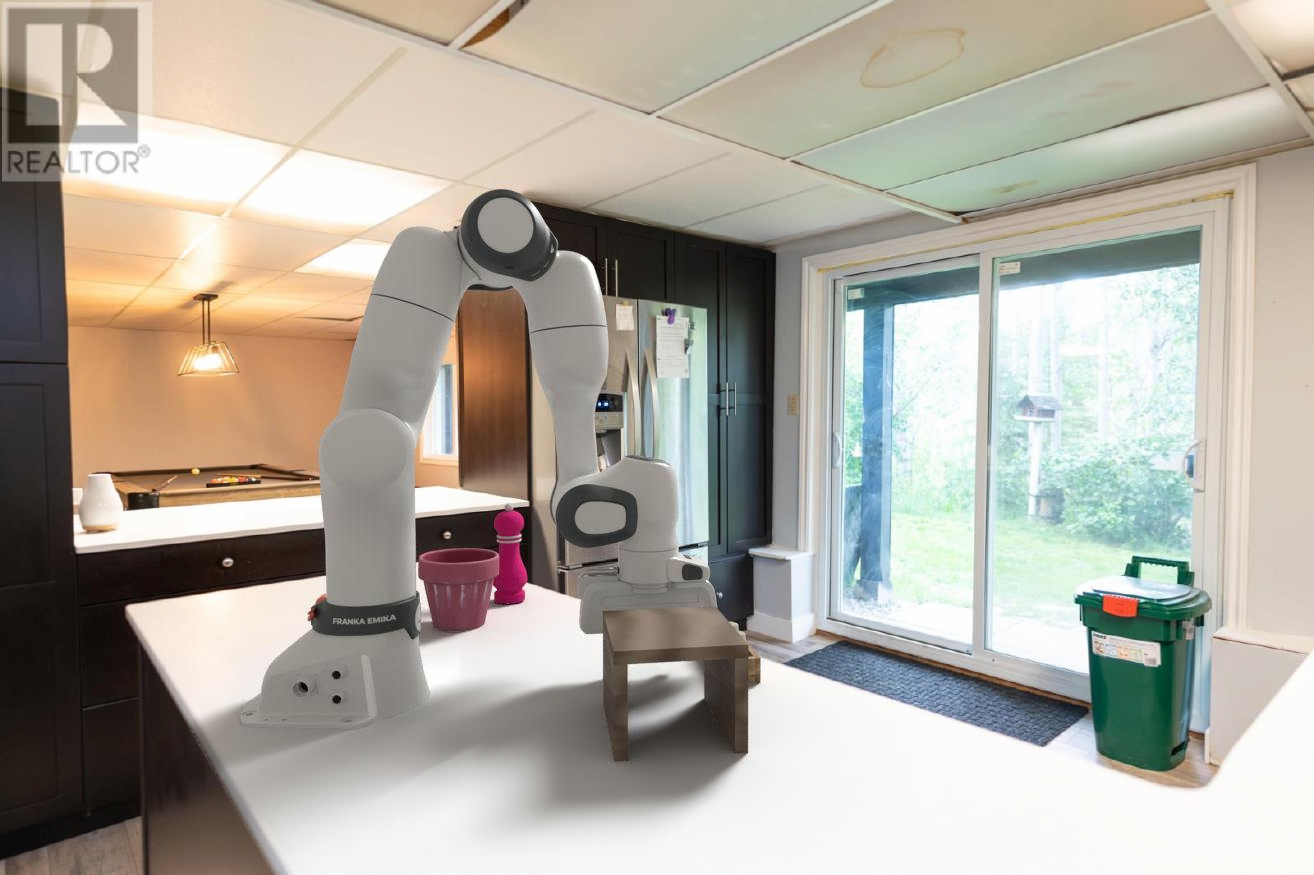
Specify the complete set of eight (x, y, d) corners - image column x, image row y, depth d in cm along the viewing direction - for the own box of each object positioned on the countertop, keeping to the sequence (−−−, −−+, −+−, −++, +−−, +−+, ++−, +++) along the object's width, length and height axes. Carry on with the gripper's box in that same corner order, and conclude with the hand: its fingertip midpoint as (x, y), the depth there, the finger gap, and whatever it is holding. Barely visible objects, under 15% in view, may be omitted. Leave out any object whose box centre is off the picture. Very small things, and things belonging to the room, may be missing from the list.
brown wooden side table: (614, 765, 77) (613, 651, 77) (603, 705, 93) (602, 611, 93) (748, 755, 79) (748, 644, 79) (715, 698, 95) (715, 606, 95)
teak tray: (718, 684, 100) (719, 641, 100) (696, 643, 118) (696, 606, 118) (760, 682, 101) (760, 639, 101) (732, 642, 119) (732, 605, 119)
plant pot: (516, 621, 131) (515, 552, 131) (457, 641, 119) (456, 566, 119) (462, 609, 139) (461, 544, 138) (401, 628, 127) (400, 557, 126)
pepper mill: (519, 605, 142) (518, 505, 141) (485, 603, 143) (484, 504, 143) (532, 596, 149) (532, 501, 148) (500, 594, 150) (499, 500, 150)
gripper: (577, 573, 99) (578, 671, 99) (720, 568, 102) (720, 663, 103) (575, 564, 105) (576, 656, 106) (710, 559, 108) (710, 649, 109)
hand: (648, 659), depth 104 cm, fingers open, 6 cm apart
